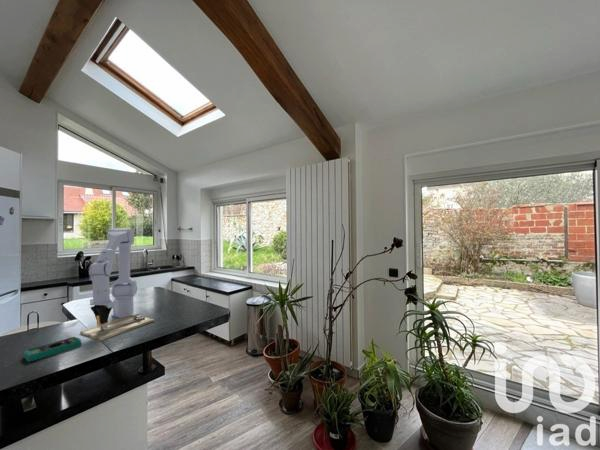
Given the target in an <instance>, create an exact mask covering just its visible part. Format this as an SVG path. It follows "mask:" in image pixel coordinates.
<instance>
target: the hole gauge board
mask: <svg viewBox="0 0 600 450" xmlns="http://www.w3.org/2000/svg"><path fill="white" fill-rule="evenodd" d="M154 322H155V319H154V318H150V317H146V316H145V317H144V316H143V315H140V313H139V312H138V313H134V314H131V315H130V316H127V317H124V318H119V319H115V320H113V321H108V326H110V328H109V329H105V330H103V331H101V329H99V328H97V325H96V326H93V327H90V328H87V329H84V330H80V332H79V333H80V334H81V335H83V336H86V337H88V338H91V339H95V340H97V341H101V342H102V341H104V340H106V339H109V338H112V337H115V336H118V335H121V334H123V333H126V332H129V331H132V330H135V329H137V328H140V327H142V326H145V325H148V324H151V323H154Z"/></svg>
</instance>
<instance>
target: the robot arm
mask: <svg viewBox="0 0 600 450" xmlns="http://www.w3.org/2000/svg"><path fill="white" fill-rule="evenodd" d="M107 238H108V241H107V245H106V246H105V248H104V249H101V250H100V253H99V255H98V256H97V257H96V261H95V262H93V263H91V264H90V265H89V268H88V275H89V276H90V281H91V282H92V298H91V299H89V306H90V310H91V311H92V312H93V314H94V316H95V317H94V318H95V319H96V321H97V315H99V317H100V322H101V324H104V323H107V321H108V322H109V316H112V317H116V318H119V319H122V318H125V317H128V316H130V315H131V314H134V313H139V312H138V311H135V310H134V305H135V304H134V297H135V296H136V294H137V292H138V285H137V280H135V279H134V278H133V277H131V249H132V247H131V246H132V245H134V244H135V231H134V230H133V228H132V227H129V228H128V227H127V228H109V230H108V232H107ZM117 248H118V278H117V279H116V280H115V281H114V282H112V288H110V275H111V273H112V271H113V262H114V260H115V258H116V255H117V254H116V250H117ZM110 291H111V292H110ZM110 293H111V295H110ZM111 296H112V298H114V300H111ZM111 310H112V311H111ZM111 312H112V313H111ZM110 313H111V315H110Z"/></svg>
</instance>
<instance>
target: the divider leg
mask: <svg viewBox="0 0 600 450" xmlns="http://www.w3.org/2000/svg"><path fill="white" fill-rule="evenodd" d="M108 323H109V320H108V321H107V323H104V324H101V322H100V317H99V315H97V320H96V326H97V328H99V329H101V331H103V330H105V329H109V328H110V326H108Z"/></svg>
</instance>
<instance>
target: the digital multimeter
mask: <svg viewBox="0 0 600 450" xmlns="http://www.w3.org/2000/svg"><path fill="white" fill-rule="evenodd" d="M81 346H82V339H81V338H80V337H79V338H78V337H76V336H71V337H68V338H65V339H61V340H59V341H54V342H51V343H47V344H44V345H41V346H37V347H33V348H29V349H26V350H24V351H23V356H24V360H25V359H26V360H27V361H28V362H27V361H26V360H25V361H26V362H27V363H31V362H30V361H33V362H35V361H34V360H36V361H38V360H37V359H39V360H42V359H44V357H45V358H48V357H51V356H54V355H57V354H60V353H64V352H66V351H70V350H73V349H77V348H80V347H81ZM47 356H48V357H47ZM41 358H42V359H41Z"/></svg>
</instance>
